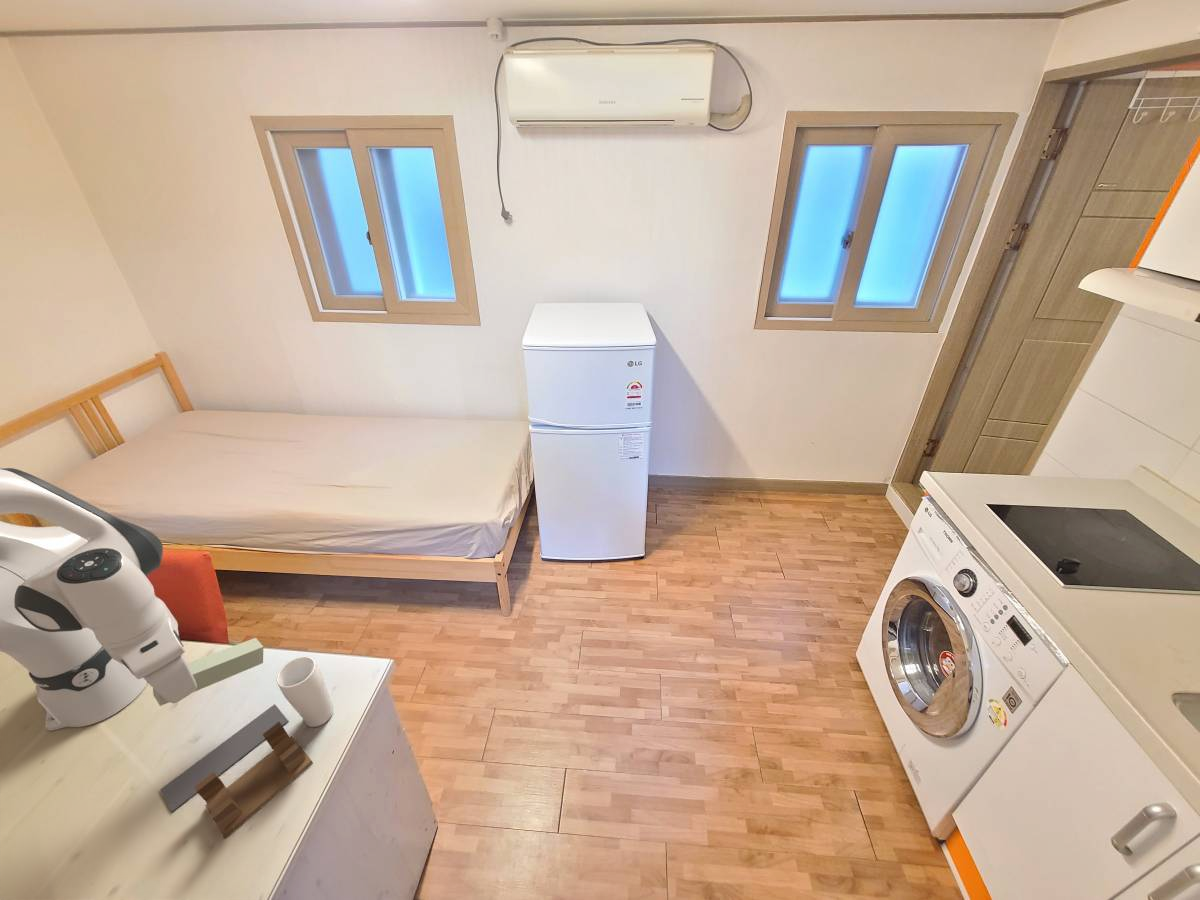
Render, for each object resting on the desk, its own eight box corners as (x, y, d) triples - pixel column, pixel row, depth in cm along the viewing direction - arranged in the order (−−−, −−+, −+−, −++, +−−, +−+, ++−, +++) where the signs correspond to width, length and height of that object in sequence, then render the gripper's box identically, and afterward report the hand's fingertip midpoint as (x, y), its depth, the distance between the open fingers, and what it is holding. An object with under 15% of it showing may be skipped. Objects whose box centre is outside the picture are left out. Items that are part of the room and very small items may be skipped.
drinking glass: (332, 693, 104) (310, 649, 97) (342, 716, 100) (320, 672, 92) (298, 714, 101) (272, 669, 93) (306, 739, 96) (280, 695, 88)
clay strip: (160, 706, 85) (159, 687, 84) (153, 694, 87) (152, 676, 86) (263, 663, 98) (263, 646, 97) (255, 653, 100) (255, 637, 99)
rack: (207, 807, 86) (190, 789, 83) (293, 737, 97) (281, 719, 93) (225, 838, 82) (208, 821, 79) (312, 762, 93) (301, 744, 89)
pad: (160, 790, 89) (160, 789, 89) (275, 704, 102) (274, 703, 102) (172, 812, 86) (171, 811, 86) (288, 721, 99) (288, 720, 99)
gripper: (98, 614, 83) (137, 663, 91) (136, 680, 73) (177, 730, 80) (143, 591, 88) (177, 640, 95) (185, 651, 77) (220, 700, 85)
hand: (177, 682), depth 88 cm, fingers closed on clay strip, 3 cm apart
